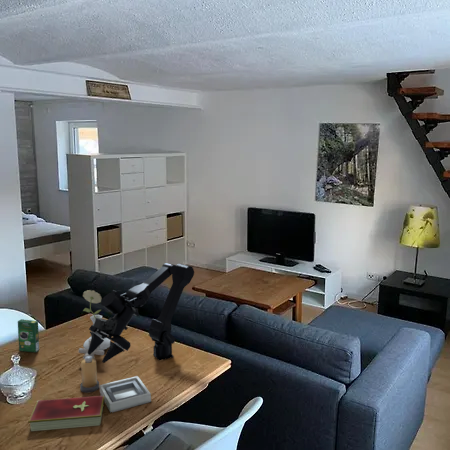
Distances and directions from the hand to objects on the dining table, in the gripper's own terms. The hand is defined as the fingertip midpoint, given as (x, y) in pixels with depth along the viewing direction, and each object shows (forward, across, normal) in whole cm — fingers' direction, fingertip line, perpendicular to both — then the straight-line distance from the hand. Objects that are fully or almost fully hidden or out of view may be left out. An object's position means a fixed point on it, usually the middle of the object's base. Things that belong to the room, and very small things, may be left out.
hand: (95, 358), depth 166 cm
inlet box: (+6, +14, +9) cm, 18 cm away
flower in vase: (-5, -27, +19) cm, 34 cm away
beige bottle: (+9, 0, +5) cm, 11 cm away
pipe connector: (+2, -15, +13) cm, 20 cm away
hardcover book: (+20, +11, -4) cm, 23 cm away
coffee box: (+10, -45, +5) cm, 46 cm away
